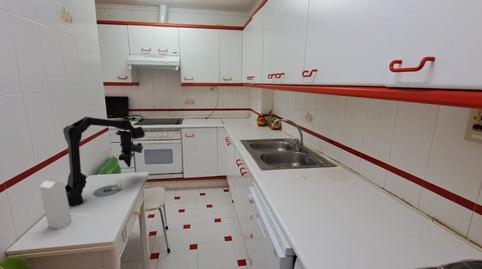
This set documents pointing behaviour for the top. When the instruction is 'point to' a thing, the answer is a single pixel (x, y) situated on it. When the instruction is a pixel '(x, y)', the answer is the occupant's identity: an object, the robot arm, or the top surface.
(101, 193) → the grey round disc
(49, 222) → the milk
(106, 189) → the peg
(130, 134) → the robot arm
